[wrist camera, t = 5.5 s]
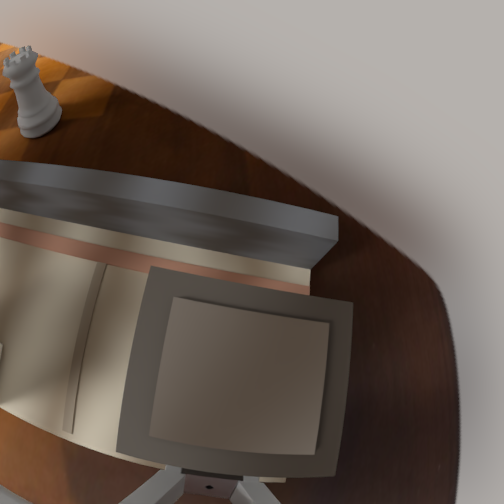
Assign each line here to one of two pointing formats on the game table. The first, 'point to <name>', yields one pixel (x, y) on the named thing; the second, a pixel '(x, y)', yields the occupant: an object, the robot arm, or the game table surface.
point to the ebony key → (236, 378)
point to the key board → (119, 279)
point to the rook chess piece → (31, 95)
